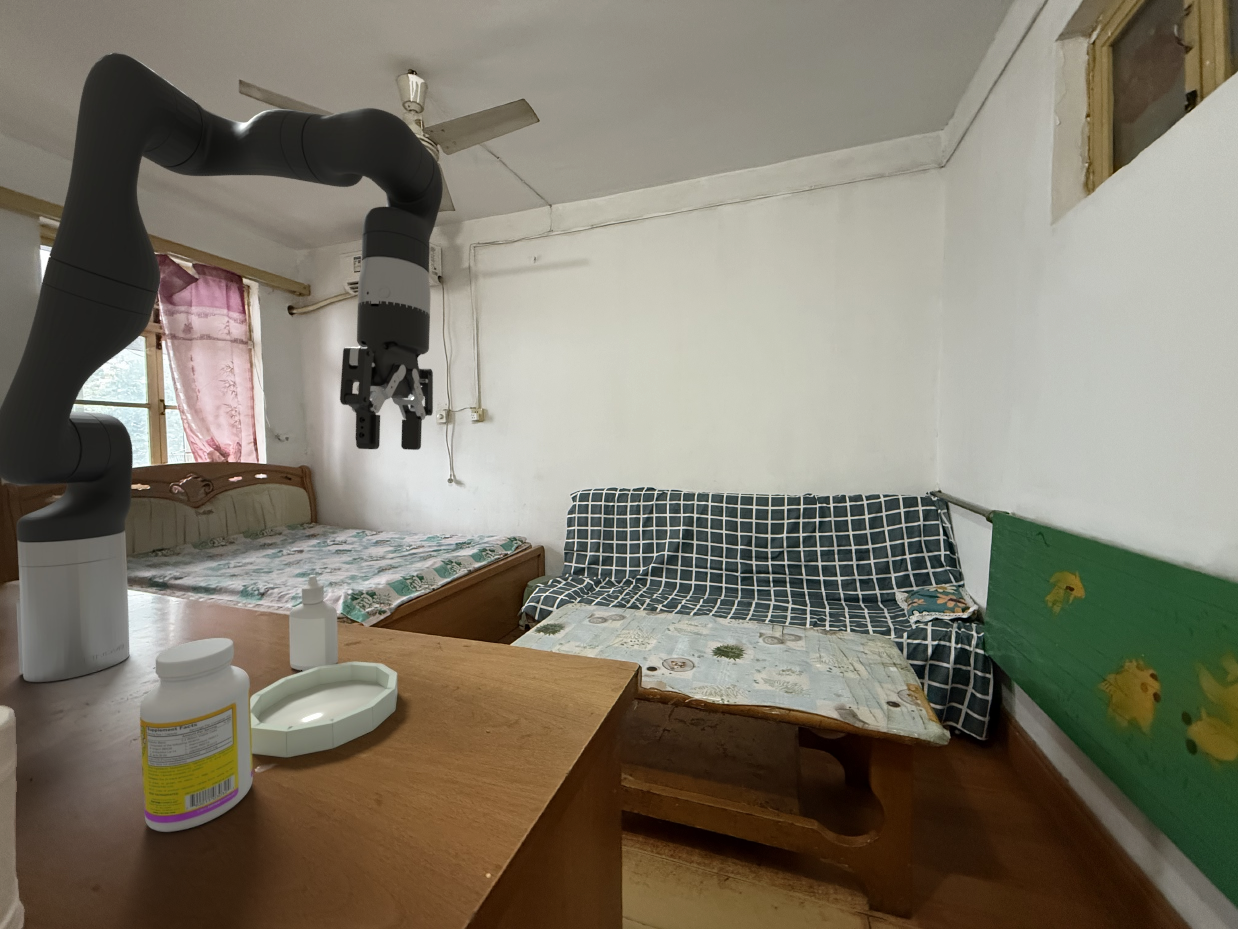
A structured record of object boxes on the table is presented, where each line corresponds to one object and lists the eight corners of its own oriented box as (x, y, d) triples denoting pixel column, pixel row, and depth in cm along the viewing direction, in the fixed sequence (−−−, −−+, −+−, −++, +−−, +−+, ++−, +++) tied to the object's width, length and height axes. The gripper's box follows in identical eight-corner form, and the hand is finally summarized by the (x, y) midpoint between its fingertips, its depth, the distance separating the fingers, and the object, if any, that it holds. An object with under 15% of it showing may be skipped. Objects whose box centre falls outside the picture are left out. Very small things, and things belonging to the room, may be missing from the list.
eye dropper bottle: (304, 678, 60) (302, 583, 59) (286, 666, 63) (284, 575, 63) (341, 665, 63) (340, 575, 63) (322, 654, 67) (321, 569, 66)
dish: (205, 748, 46) (204, 722, 46) (317, 678, 60) (316, 658, 60) (336, 763, 44) (336, 736, 44) (421, 687, 58) (420, 666, 58)
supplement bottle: (191, 777, 42) (186, 633, 41) (270, 773, 42) (267, 631, 42) (117, 840, 35) (111, 669, 35) (213, 834, 36) (208, 666, 35)
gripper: (399, 324, 62) (395, 448, 63) (319, 286, 48) (315, 447, 49) (454, 325, 62) (450, 451, 62) (389, 286, 47) (384, 450, 48)
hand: (390, 449), depth 55 cm, fingers open, 8 cm apart
